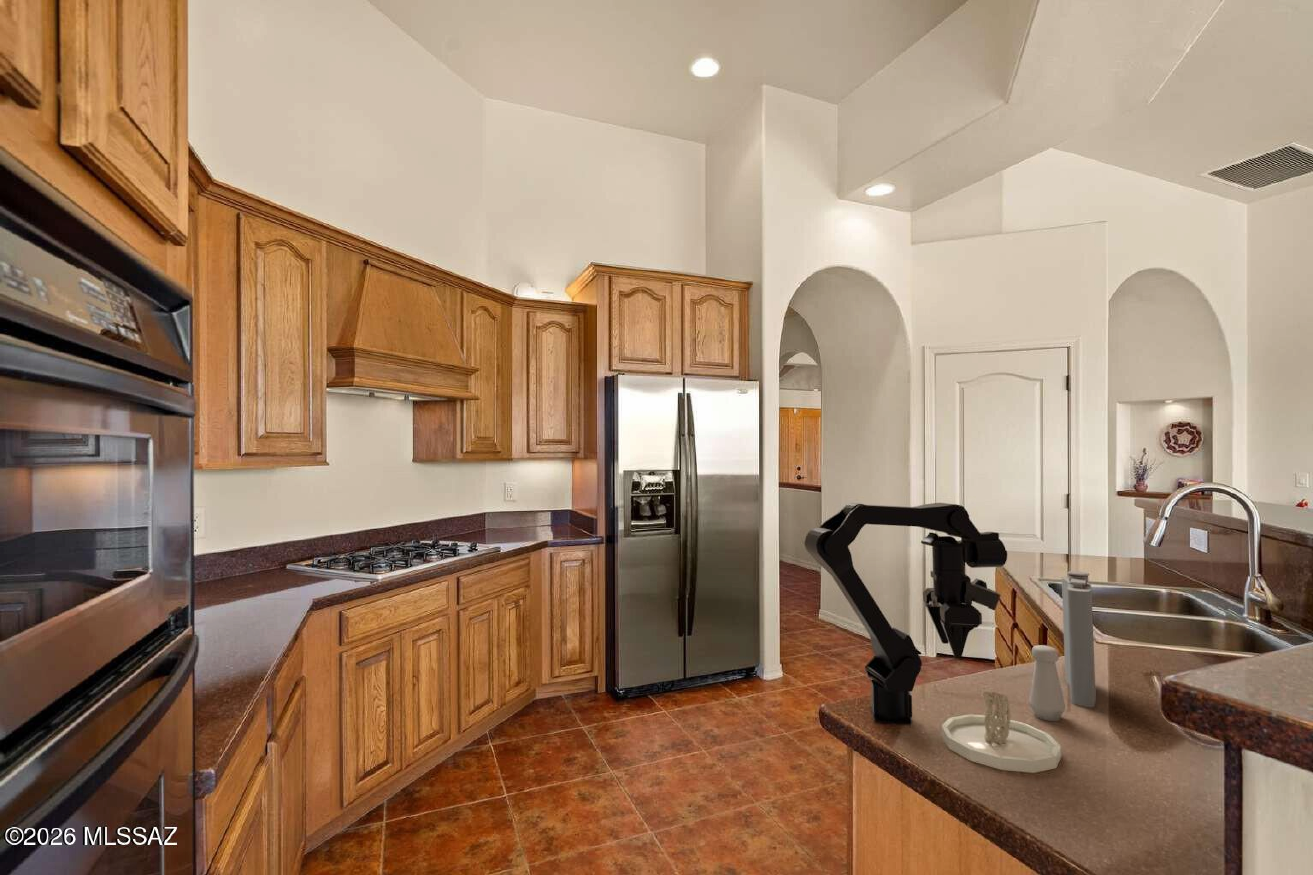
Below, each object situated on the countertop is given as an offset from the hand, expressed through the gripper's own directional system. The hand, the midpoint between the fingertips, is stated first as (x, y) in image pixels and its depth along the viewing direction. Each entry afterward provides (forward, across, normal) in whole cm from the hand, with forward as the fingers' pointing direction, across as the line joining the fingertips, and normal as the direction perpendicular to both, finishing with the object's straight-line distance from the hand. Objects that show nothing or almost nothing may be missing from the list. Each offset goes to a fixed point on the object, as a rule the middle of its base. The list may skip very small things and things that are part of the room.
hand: (951, 650), depth 117 cm
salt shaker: (+12, +2, -17) cm, 21 cm away
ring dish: (+12, -13, -4) cm, 18 cm away
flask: (+12, +17, -29) cm, 36 cm away
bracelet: (+12, -12, -4) cm, 17 cm away
